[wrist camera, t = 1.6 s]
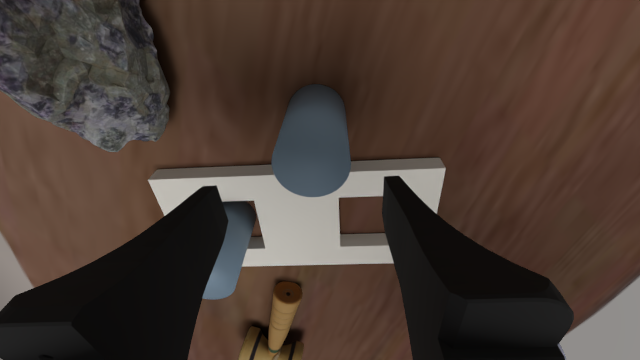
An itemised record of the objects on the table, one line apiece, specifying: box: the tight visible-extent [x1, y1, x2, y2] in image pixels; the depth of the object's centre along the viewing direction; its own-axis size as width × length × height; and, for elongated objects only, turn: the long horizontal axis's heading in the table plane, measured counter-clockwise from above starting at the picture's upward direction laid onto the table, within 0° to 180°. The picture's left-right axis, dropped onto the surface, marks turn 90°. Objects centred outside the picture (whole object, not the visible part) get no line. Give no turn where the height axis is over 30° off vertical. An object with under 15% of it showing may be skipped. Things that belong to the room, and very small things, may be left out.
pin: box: [202, 201, 256, 299], centre depth 24 cm, size 4×4×7 cm
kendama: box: [238, 281, 304, 360], centre depth 35 cm, size 8×6×18 cm
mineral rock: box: [0, 0, 170, 152], centre depth 14 cm, size 13×11×10 cm
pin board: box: [148, 158, 446, 266], centre depth 25 cm, size 22×10×2 cm, turn 94°
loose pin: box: [272, 84, 351, 197], centre depth 18 cm, size 4×4×7 cm
